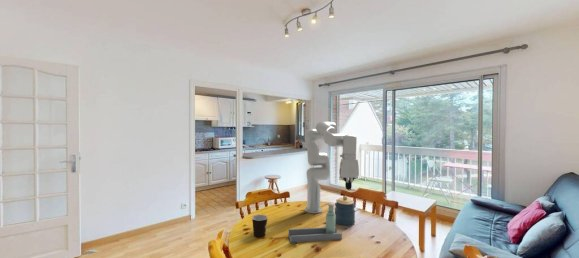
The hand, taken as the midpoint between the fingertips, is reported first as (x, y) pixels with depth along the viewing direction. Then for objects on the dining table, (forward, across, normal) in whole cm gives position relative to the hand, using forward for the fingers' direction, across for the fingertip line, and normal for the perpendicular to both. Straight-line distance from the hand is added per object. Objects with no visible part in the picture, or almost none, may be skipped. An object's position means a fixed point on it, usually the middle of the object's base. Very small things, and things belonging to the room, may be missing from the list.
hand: (348, 189), depth 134 cm
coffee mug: (+27, -48, +9) cm, 56 cm away
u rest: (+27, -19, 0) cm, 33 cm away
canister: (+27, +6, +18) cm, 33 cm away
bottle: (+26, -10, 0) cm, 28 cm away
